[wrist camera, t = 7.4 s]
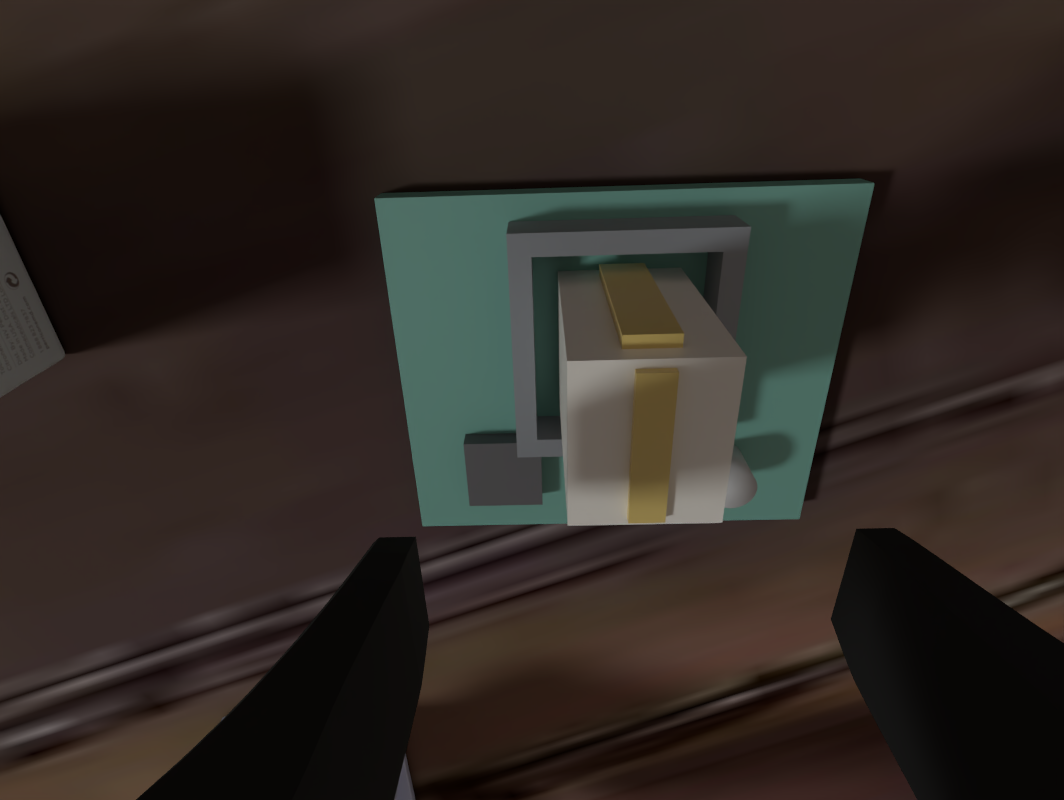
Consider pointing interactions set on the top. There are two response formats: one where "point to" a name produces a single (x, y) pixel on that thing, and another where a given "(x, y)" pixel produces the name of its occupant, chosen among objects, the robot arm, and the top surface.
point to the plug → (644, 397)
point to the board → (532, 325)
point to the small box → (22, 322)
